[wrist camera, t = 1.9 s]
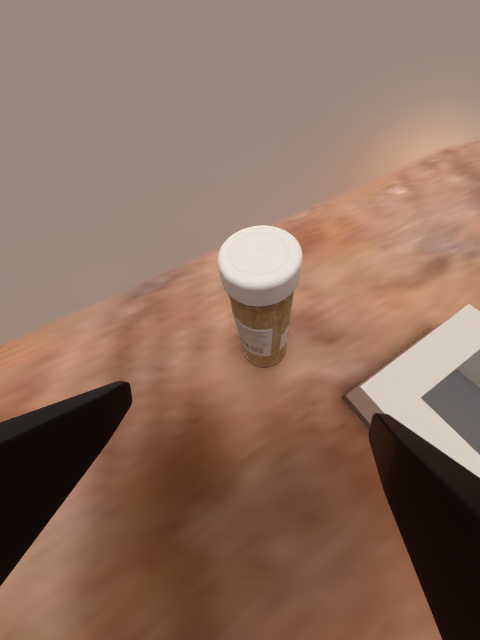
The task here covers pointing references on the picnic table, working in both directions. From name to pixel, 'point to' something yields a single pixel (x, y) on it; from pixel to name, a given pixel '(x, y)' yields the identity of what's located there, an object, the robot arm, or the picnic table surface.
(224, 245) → the sprinkles bottle
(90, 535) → the picnic table surface
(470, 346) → the socket block
